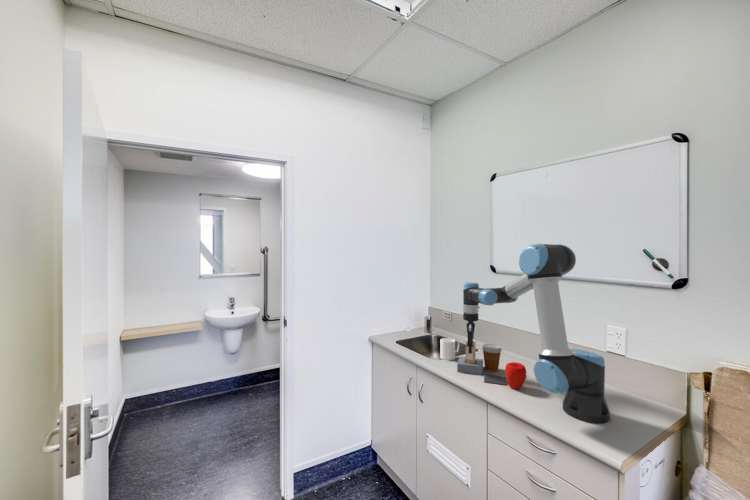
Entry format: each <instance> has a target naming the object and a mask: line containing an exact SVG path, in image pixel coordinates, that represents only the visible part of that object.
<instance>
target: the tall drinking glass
mask: <svg viewBox="0 0 750 500" xmlns="http://www.w3.org/2000/svg"><path fill="white" fill-rule="evenodd" d="M467 341H468V337H466V339H465V357H466V363H472V364H475V358H476V348H477V347H476V343H477V342H476V338H474V339H473V360H470V359H467V351H468V347H466V345H467Z"/></svg>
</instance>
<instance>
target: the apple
mask: <svg viewBox="0 0 750 500" xmlns="http://www.w3.org/2000/svg"><path fill="white" fill-rule="evenodd" d="M504 370H505V372H504V373H505V375H504V376H505V377H506V379H507V386H509V387H510V388H511V389H521V388H522V387H523V385H524V383H525V382H526V381H525V380H526V378H527V369H526V367H525V365H523V363H520V362H513V361H512V362H508V363H506V365H505V369H504Z"/></svg>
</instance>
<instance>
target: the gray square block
mask: <svg viewBox="0 0 750 500" xmlns="http://www.w3.org/2000/svg"><path fill="white" fill-rule="evenodd" d="M458 358H459V359H458V361H457V362H456V363H457V364H456V366H457V368H456V370H457V372H458V373H465V374H472V375H477V376H478V375H480V376H482V375H483V372H484V371H483V370H484V358H476V357H475V364H472V363H466V356H459V357H458Z"/></svg>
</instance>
